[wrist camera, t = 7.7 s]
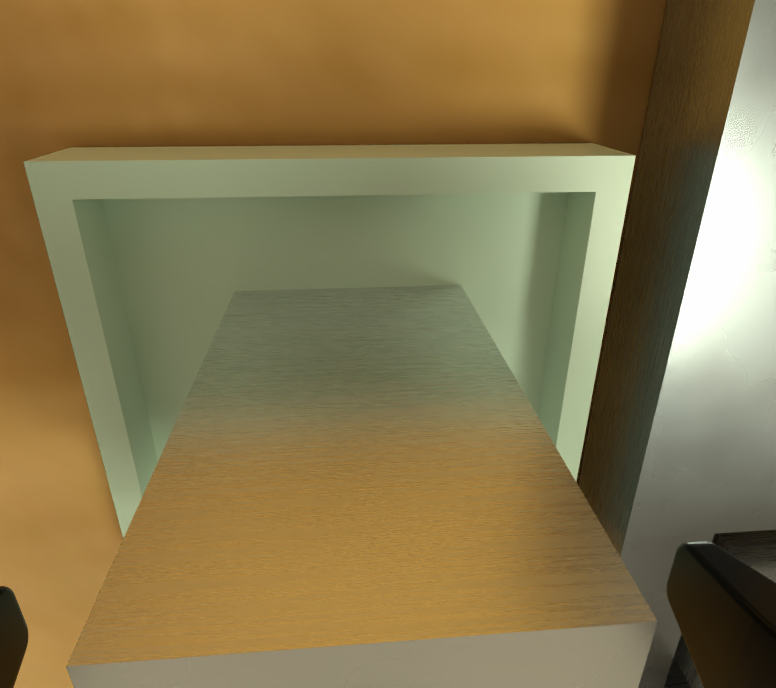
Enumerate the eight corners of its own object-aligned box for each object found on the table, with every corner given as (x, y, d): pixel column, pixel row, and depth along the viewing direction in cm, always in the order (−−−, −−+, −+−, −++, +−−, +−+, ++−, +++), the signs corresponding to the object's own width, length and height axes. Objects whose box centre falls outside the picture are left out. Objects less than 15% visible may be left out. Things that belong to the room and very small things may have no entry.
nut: (450, 464, 14) (585, 929, 6) (257, 474, 13) (161, 979, 6) (461, 284, 12) (676, 655, 4) (234, 291, 11) (47, 707, 4)
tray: (535, 526, 16) (558, 578, 14) (162, 548, 15) (141, 607, 13) (593, 142, 11) (635, 155, 10) (70, 147, 11) (23, 162, 9)
